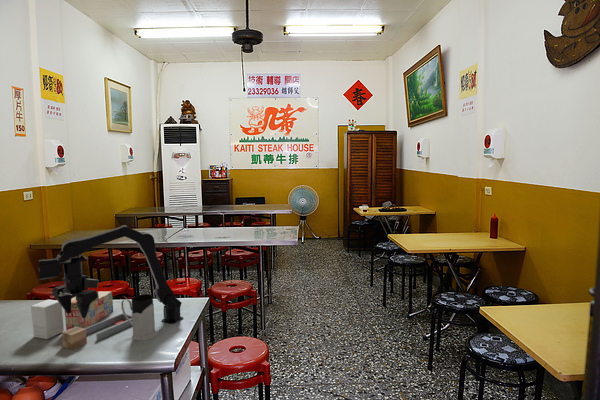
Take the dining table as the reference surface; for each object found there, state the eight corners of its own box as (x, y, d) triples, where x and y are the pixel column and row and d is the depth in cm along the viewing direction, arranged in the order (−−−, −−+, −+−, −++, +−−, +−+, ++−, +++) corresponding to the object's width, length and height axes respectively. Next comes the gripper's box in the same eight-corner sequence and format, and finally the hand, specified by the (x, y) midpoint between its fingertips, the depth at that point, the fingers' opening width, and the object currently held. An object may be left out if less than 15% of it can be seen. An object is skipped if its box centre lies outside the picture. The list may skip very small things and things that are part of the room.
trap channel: (138, 322, 157) (138, 316, 157) (98, 340, 141) (98, 334, 141) (123, 318, 161) (122, 312, 161) (82, 335, 145) (82, 329, 145)
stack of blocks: (100, 310, 171) (99, 284, 169) (113, 311, 170) (112, 284, 169) (66, 331, 149) (63, 301, 148) (80, 332, 149) (78, 302, 147)
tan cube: (87, 343, 139) (85, 329, 139) (72, 349, 134) (71, 335, 134) (77, 340, 142) (76, 326, 141) (63, 346, 137) (61, 332, 136)
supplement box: (64, 331, 149) (62, 300, 148) (46, 339, 142) (44, 307, 141) (50, 329, 152) (48, 298, 150) (32, 337, 145) (30, 305, 143)
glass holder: (146, 341, 139) (143, 302, 138) (115, 337, 144) (112, 299, 142) (161, 331, 148) (159, 294, 146) (131, 327, 152) (129, 291, 151)
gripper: (110, 271, 139) (112, 312, 141) (79, 266, 148) (81, 304, 149) (81, 280, 130) (84, 323, 131) (49, 273, 138) (52, 314, 140)
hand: (76, 315), depth 138 cm, fingers open, 9 cm apart
